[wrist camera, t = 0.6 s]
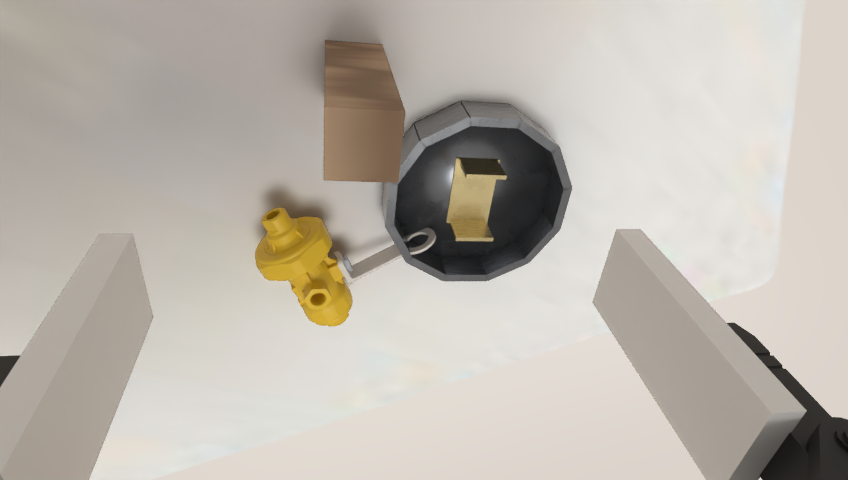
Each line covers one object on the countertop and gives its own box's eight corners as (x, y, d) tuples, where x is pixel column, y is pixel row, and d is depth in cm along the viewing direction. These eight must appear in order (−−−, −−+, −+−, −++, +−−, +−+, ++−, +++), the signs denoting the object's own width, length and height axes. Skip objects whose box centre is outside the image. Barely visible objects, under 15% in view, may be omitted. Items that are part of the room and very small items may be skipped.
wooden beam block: (324, 96, 35) (323, 180, 25) (325, 40, 33) (324, 106, 23) (378, 99, 35) (398, 182, 25) (382, 44, 34) (405, 111, 24)
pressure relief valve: (303, 311, 43) (236, 213, 38) (435, 244, 44) (389, 138, 38) (312, 356, 39) (237, 252, 33) (459, 280, 39) (411, 166, 34)
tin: (377, 258, 42) (380, 283, 40) (390, 96, 35) (395, 114, 33) (533, 259, 45) (546, 283, 42) (573, 108, 38) (592, 125, 35)
